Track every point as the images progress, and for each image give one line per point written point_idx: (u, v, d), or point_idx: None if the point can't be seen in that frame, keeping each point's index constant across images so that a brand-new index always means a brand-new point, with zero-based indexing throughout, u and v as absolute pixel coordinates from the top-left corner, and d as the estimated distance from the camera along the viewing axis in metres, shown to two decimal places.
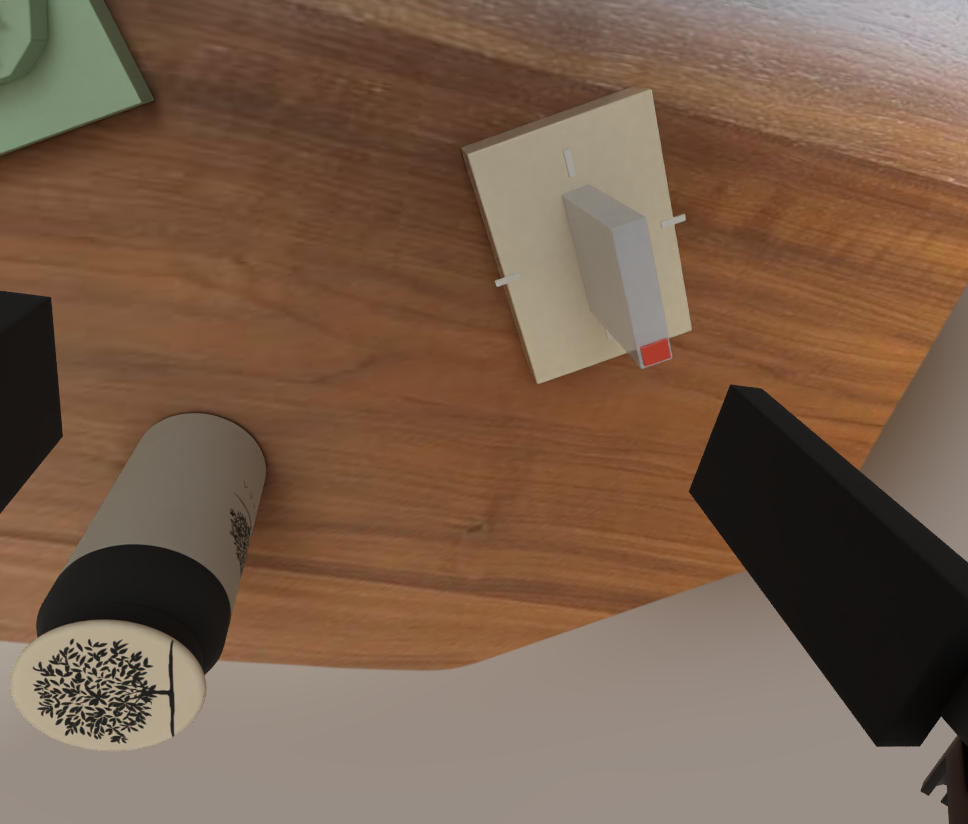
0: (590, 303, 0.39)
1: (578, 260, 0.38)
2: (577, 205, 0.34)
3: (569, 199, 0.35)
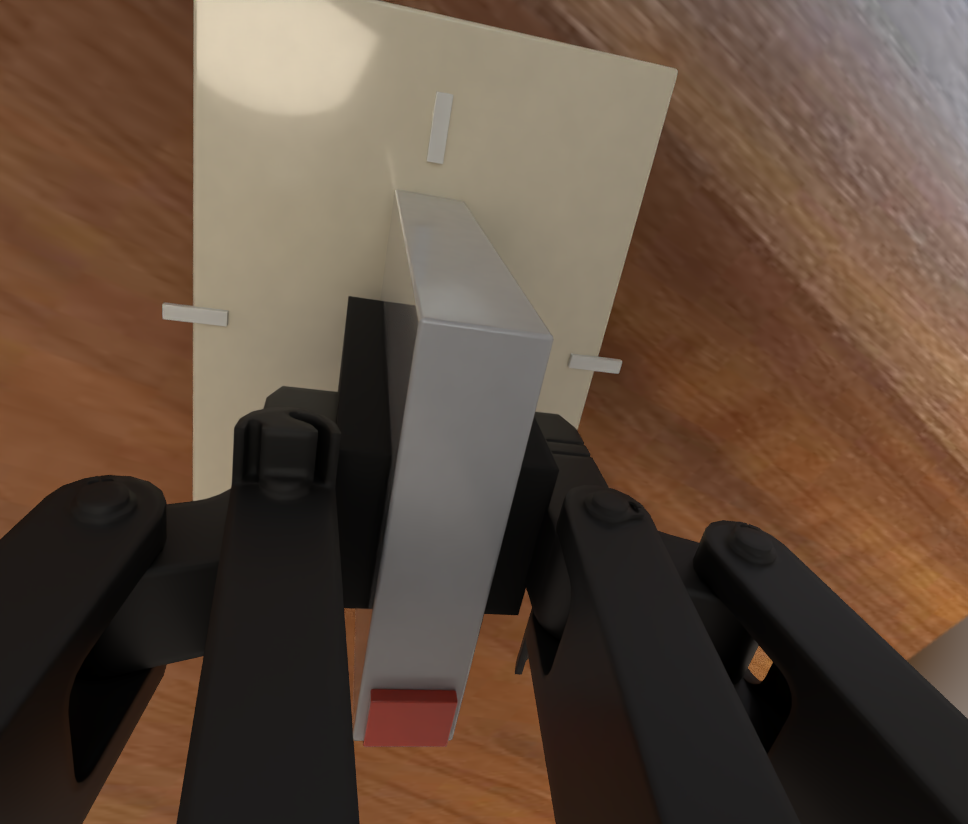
0: None
1: None
2: (400, 220, 0.12)
3: (398, 203, 0.14)
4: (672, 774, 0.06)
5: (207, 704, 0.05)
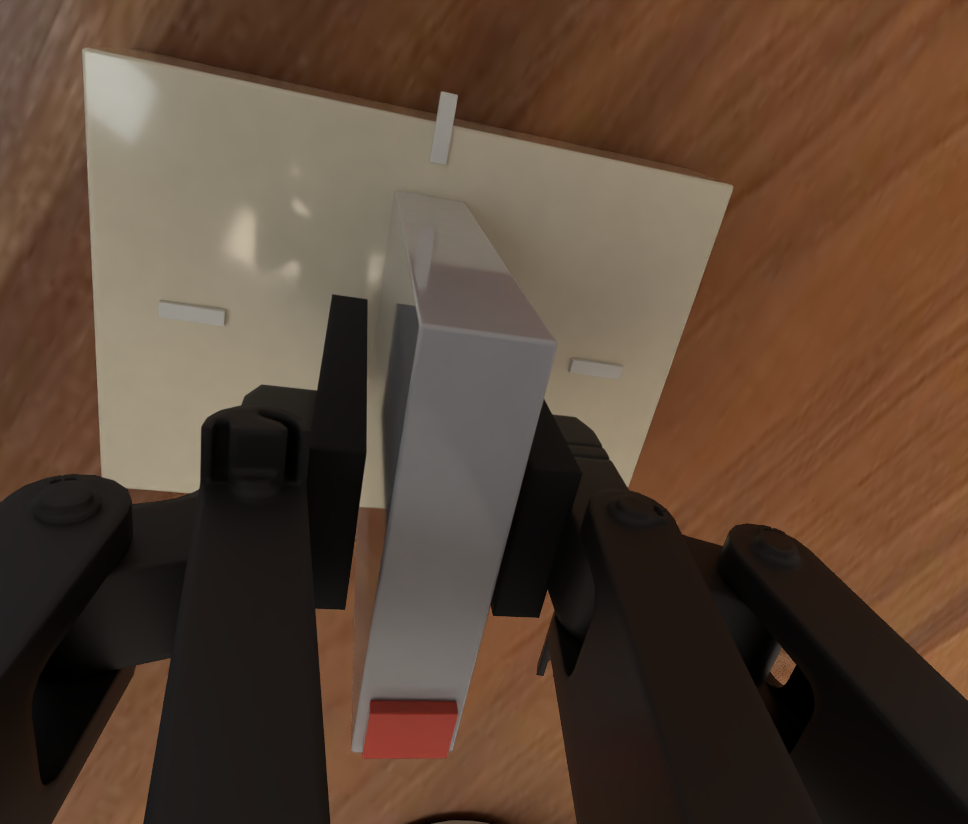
0: None
1: None
2: (400, 222, 0.12)
3: (398, 203, 0.13)
4: (696, 774, 0.06)
5: (174, 708, 0.05)
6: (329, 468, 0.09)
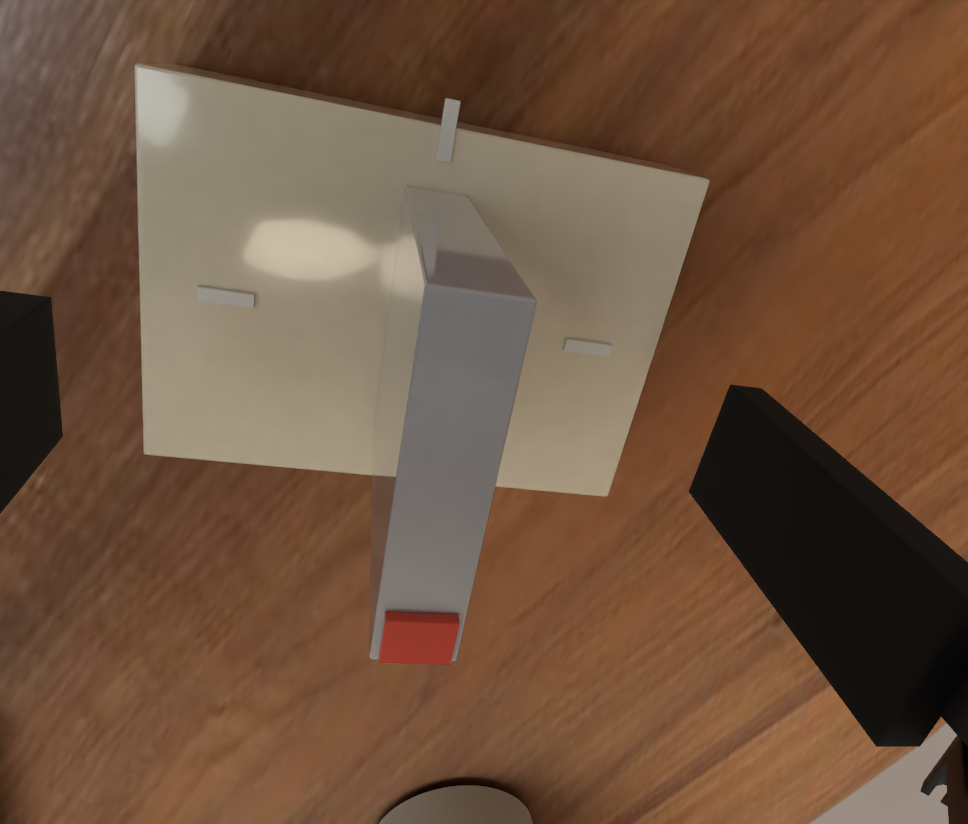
0: (375, 421, 0.19)
1: None
2: (410, 211, 0.14)
3: (408, 197, 0.15)
4: None
5: None
6: None
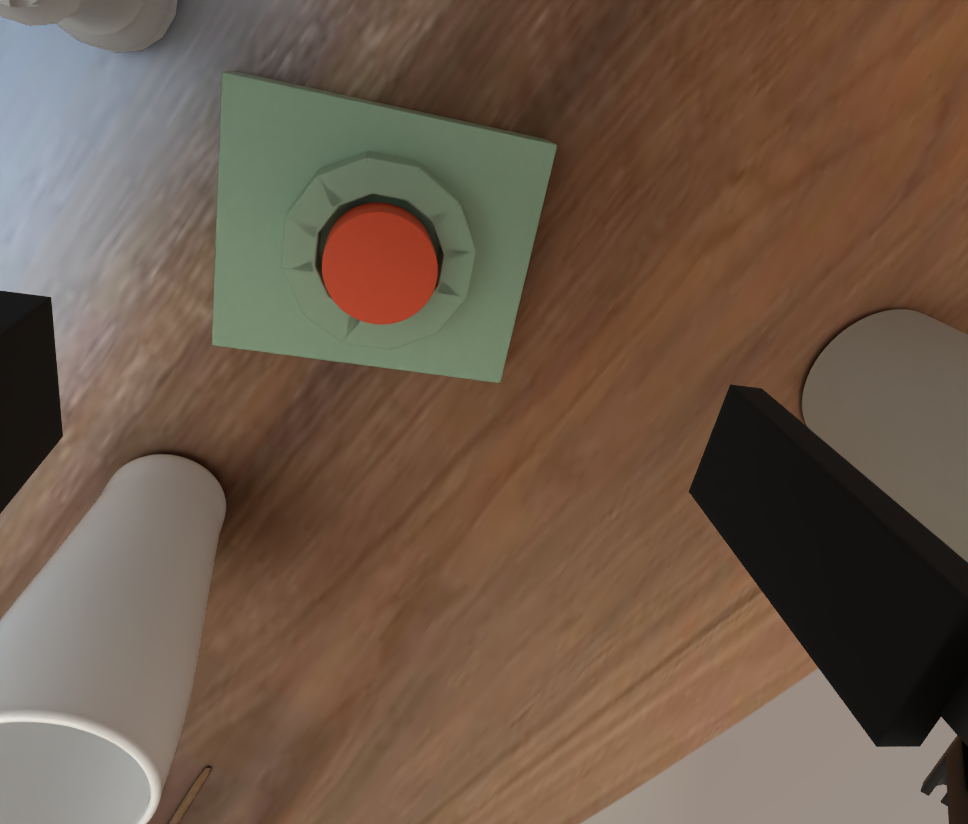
0: None
1: None
2: None
3: None
4: None
5: None
6: None
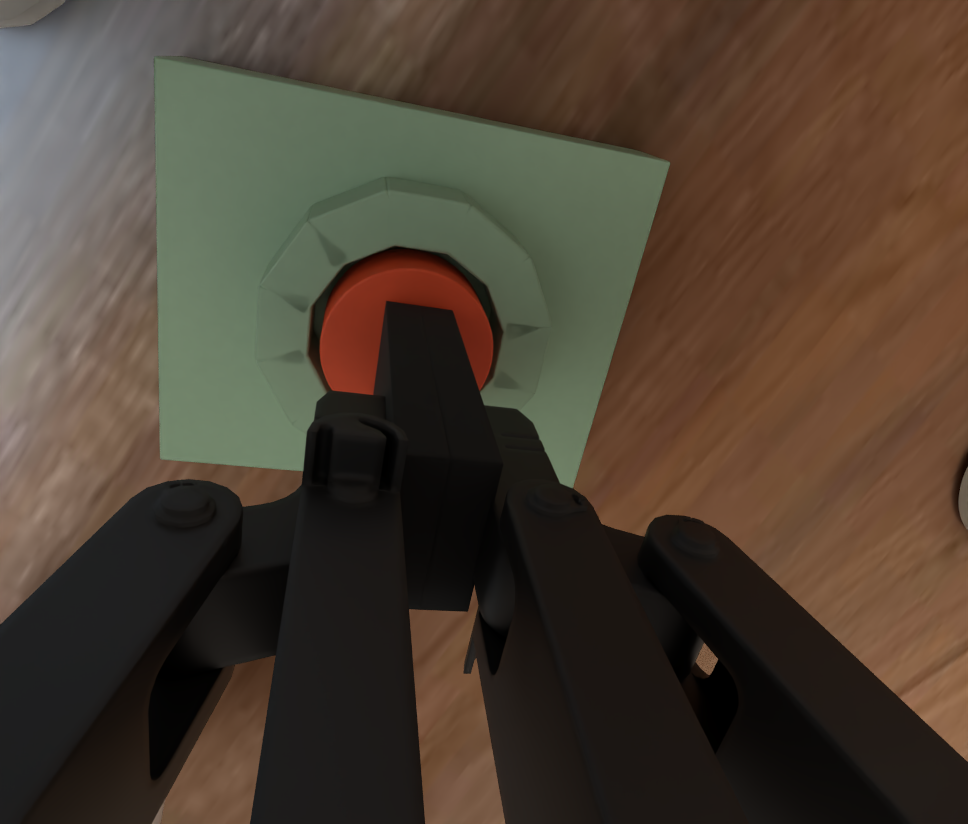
0: None
1: None
2: None
3: None
4: (618, 775, 0.05)
5: (280, 698, 0.06)
6: (415, 473, 0.09)
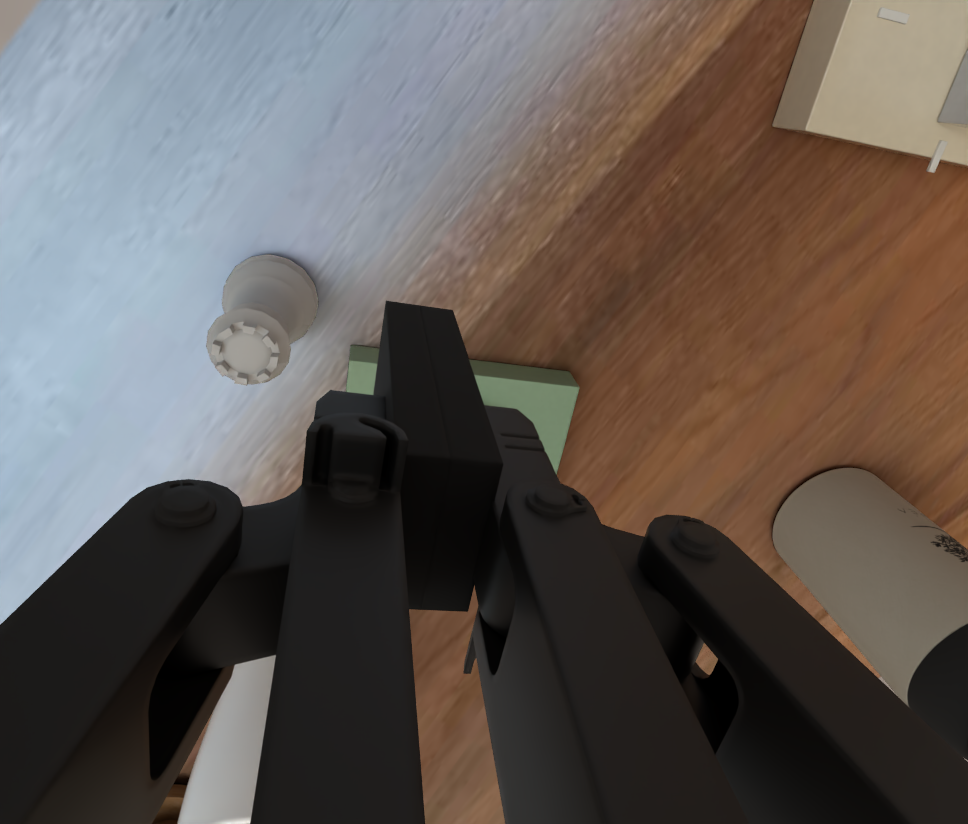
0: (953, 105, 0.30)
1: None
2: None
3: None
4: (618, 775, 0.05)
5: (280, 698, 0.06)
6: (415, 473, 0.09)
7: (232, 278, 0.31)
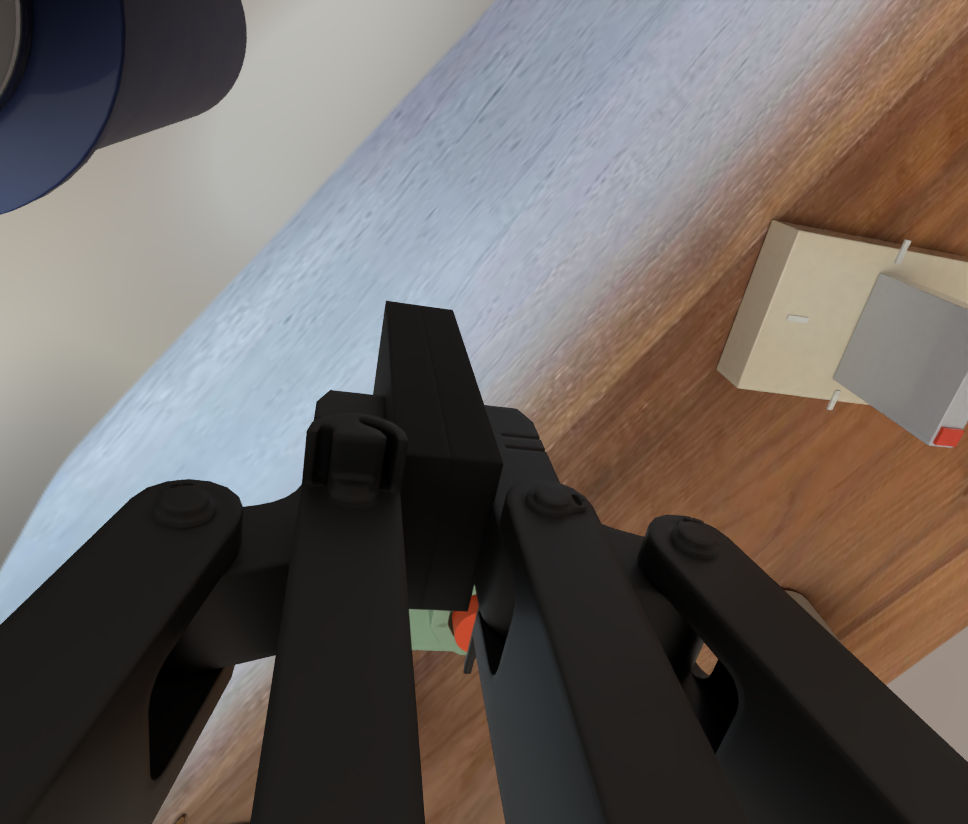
0: (842, 372, 0.43)
1: (855, 333, 0.42)
2: (917, 289, 0.38)
3: (897, 280, 0.39)
4: (617, 775, 0.05)
5: (280, 698, 0.06)
6: (415, 473, 0.09)
7: None
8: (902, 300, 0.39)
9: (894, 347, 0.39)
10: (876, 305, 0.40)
